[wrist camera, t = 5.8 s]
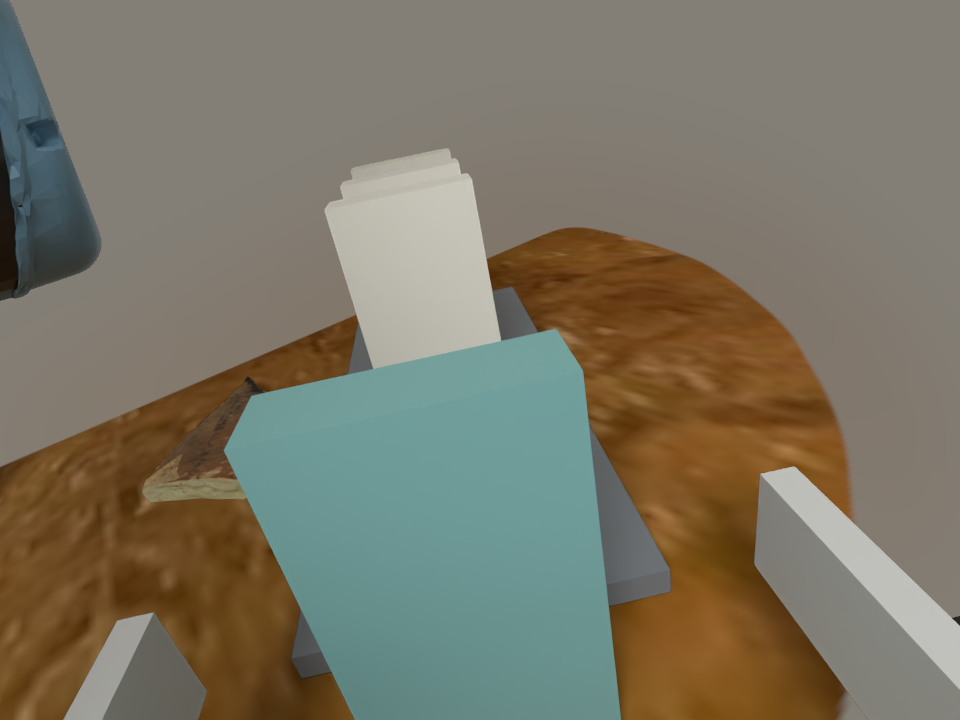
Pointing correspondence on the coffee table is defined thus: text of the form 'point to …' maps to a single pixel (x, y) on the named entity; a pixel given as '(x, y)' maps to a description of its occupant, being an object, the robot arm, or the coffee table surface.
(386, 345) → the ivory domino
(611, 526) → the slate runway
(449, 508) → the teal domino
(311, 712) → the coffee table surface
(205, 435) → the shard
